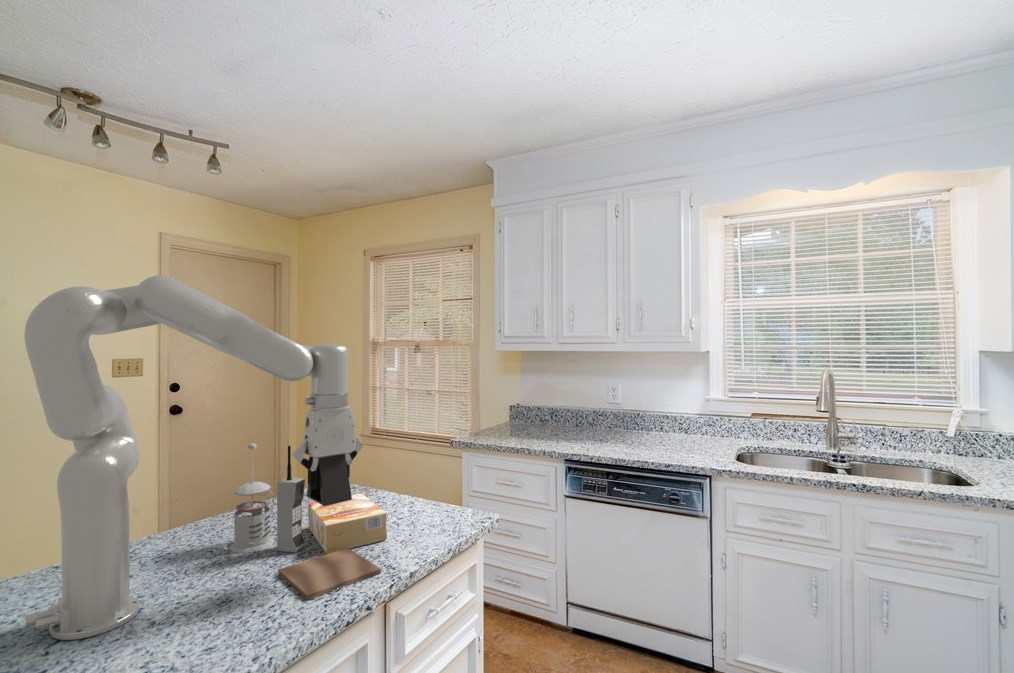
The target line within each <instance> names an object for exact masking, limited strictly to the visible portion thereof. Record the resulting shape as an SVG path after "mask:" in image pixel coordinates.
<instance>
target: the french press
mask: <svg viewBox="0 0 1014 673" xmlns="http://www.w3.org/2000/svg"><path fill="white" fill-rule="evenodd" d="M256 448H257V444H256V443H254V442H252V443H249V444H248V446H247V449H251V481H249V482H246V483H243V484H241V485H239V486H238V487H236V488H235V489H234V490H233V493H234V495H236V496H241V497H246V496H247V497H249V496H251V500H250V501H246V502H242V503H240V504H238V505H237V506H236V507H235V509H236V510H237V511H235V513H234V518H233V519H234V520H233V521H234V522H233V524H234V528H233V529H234V537H233V538H234V539H233V540H234V542H232V544H231V546H230V547H229V550H230V551H231V553H232V552H233V553H235V554H248V553H247V552H250V553H255V552H254V551H256V552H260V551H262V550H266V549H267V548H270V547H271V546H272V545H273V544H274V543H273V542H275V540H274V538H272V537H271V536H270V533H271V532H270V527H271V526H270V525H271V524H270V521H271V520H270V519H271V518H270V517H271V514H272V513H273V510H274V508H275V507H274V506H275V496H274V493H273V492H272V490H271V488H272V487H271V485H269V484H268V483H266V482H263V481H254V460H253V459H254V449H256ZM268 492H270V494H271V495H272V506H271V507H272V508H269V503H270V502H269V501H270V500H269V499H270V498H269V494H268ZM264 493H265V494H264ZM257 495H260V496H263V497H264V496H266V497H267V500H260V499H259V500H254V496H257ZM263 509H264V513H263ZM270 510H271V511H270ZM243 513H244V514H243ZM245 513H250V514H251V515H249V514H245ZM241 514H243V515H241ZM240 515H241V516H240ZM263 526H264V527H263ZM269 546H270V547H269Z"/></svg>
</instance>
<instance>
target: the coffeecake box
mask: <svg viewBox="0 0 1014 673" xmlns="http://www.w3.org/2000/svg"><path fill="white" fill-rule="evenodd" d="M351 495H352V500H348V501H344V502H340V503H336V504H332V505H327V506H323V505H321V504H319V503H318V502H316V501H314V502H309V503H308V504H307V512H308V517H307V518H308V529H309V531H310V532H311V533H312V535H313V536H314V538H315V539H316V541H317V542H318V543H319V545H320V546H321V548H322V549H323V551H324V552H325V553H326V555H327V554H330V553H333V552H336V551H339V550H342V549H346V548H349V549H353V548H357V547H361V546H365V545H369V544H373V543H377V542H381V541H385V540H387V539H388V534H387V532H388V531H387V530H388V529H387V512H385V511H384V510H383V509H382V508H380V506H378V505H377V504H376V503H375V502H374V501H372V500H371V499H370V498H368V497H367V496H366V495H365V494H364V493H359V494H358V493H357V494H351Z"/></svg>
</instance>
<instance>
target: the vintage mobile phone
mask: <svg viewBox="0 0 1014 673" xmlns="http://www.w3.org/2000/svg"><path fill="white" fill-rule="evenodd" d="M291 449H292V448H291V445H288V446H287V467H286V469H287V472H286V473H287V474H286V476H287V477H286V478H284V479H281V480H279V481H277V482H276V486H277V487H276V488H277V490H276V497H277V498H276V502H277V504H276V506H277V507H276V508H277V510H276V515H277V516H276V519H277V522H276V530H277V532H276V534H277V536H276V544H277V545H276V548H277V551H278V552H281V551H282V552H283V553H291V552H293V554H294V553H295V554H296V553H298V552H299V551H300V550H303V549H304V547H305V546H306V541H305V538H304V536H303V534H302V532H303V531H302V525H303V524H302V523H303V522H302V521H303V520H302V516H303V515H302V514H303V513H302V506H303V504H302V503H303V501H304V496H305V485H306V484H305V482H306V478H301V477H300V478H299V477H292V465H291V461H292V460H291V458H292V455H291V452H292V450H291ZM298 550H299V551H298Z"/></svg>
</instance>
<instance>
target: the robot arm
mask: <svg viewBox="0 0 1014 673" xmlns="http://www.w3.org/2000/svg"><path fill="white" fill-rule="evenodd" d="M161 324H162V325H163V326H167V327H169V328H170V329H173V330H175V331H177V332H179V333H182V334H184V335H186V336H188V337H190V338H192V339H194V340H196V341H198V342H200V343H201V344H202V343H203V344H205V345H206V346H208V347H210V348H213V349H215V350H217V351H219V352H221V353H224V354H227V355H229V356H232V357H234V358H236V359H239V360H241V361H242V362H245V363H246V364H249V365H251V366H254V367H256V368H258V369H259V370H261V371H262V372H263V371H264V372H266V373H268V374H270V375H272V376H274V377H277V378H279V379H281V380H283V381H286V382H299V381H301V380H303V379H305V378H306V377H310V378H311V380H310V381H311V382H310V394H309V397H306V398H304V404H305V405H308V406H309V407H310V408H308V409H307V413H306V418H305V422H304V427H303V428H304V430H303V440H302V442H301V444H300V445H299V446H298V447H297V448H296V449H295V451H294V452H292V455H291V458H293V459H294V460H296V461H297V462H298V463H299V464H300V465H302V466H303V467H304V468H305V469H306V470H307V485H309V486H310V488H312V489H314V490H318V489H319V471H318V470H317V465H318V463H319V458H323V457H329V456H335V455H341V454H345V457H346V463H347V470H348V476H349V478H350V477H351V476H350V468H351V467H350V465H351V464H352V463H353V460H355V458H356V456H357V455H358V453H359V452H360V451H361V449H362V448H363V447H364V444H363V443H362V441H360V440H359V439H358V438H357V436H356V426H355V425H356V423H355V417H354V412H353V408H352V406H348V405H349V402H348V401H349V351H348V348H347V347H346V346H345V345H343V344H318V345H317V344H316V345H309V344H307V345H306V344H299V343H298V342H295V341H293V340H291V339H290V338H287V337H285V336H283V335H281V334H279V333H277V332H275V331H273V330H272V329H269V328H267V327H265V326H264V325H262V324H259V323H258V322H256V321H255V320H252V318H249V317H248V316H247V315H246V314H244V313H242V312H240V311H238V309H237V310H236V309H235V308H233V307H231V306H229V305H226V304H225V303H223V302H221V301H219V300H217V299H215V298H212V297H211V296H209V295H207V294H205V293H203V292H201V291H199V290H197V289H195V288H194V287H191V286H189V285H187V284H185V283H183V282H181V281H180V280H178V279H175V278H173V277H170V276H167V275H160V274H159V275H153V276H149V277H147V278H145V279H144V280H142V281H141V282H140V283H138V285H132V286H128V287H127V286H126V287H125V286H124V287H119V288H113V289H107V290H101V289H99V288H95V287H90V286H72V287H67V288H63V289H60V290H58V291H55V292H53V293H52V294H50V295H48V296H46V297H45V298H44V299H42V300H41V301H40V302H39V303H38V304H37V305H36V306H35V307H34V308H33V309H32V311H31V312H30V314H29V316H28V318H27V320H26V322H25V327H24V332H23V334H24V336H23V337H24V345H25V349H26V352H27V356H28V360H29V363H30V366H31V369H32V373H33V377H34V380H35V384H36V388H37V392H38V396H39V399H40V401H41V405H42V408H43V412H44V415H45V420H46V423H47V424H46V425H47V426H48V428H49V430H50V431H51V433H52V434H53V435H55V436H56V437H58V438H60V439H61V440H65V441H70V442H72V443H73V444H72V445H73V448H74V450H75V452H74V453H73V454H72V455H70V456H69V457H68V458H67V459H66V460H65V461H64V463H63V464H62V466H61V468H60V469H59V472H58V475H57V480H56V490H57V491H56V492H57V496H58V497H57V498H58V504H59V511H60V512H59V513H60V536H61V537H60V538H61V540H60V541H61V598H59V599H57V604H55V605H53V606H50V608H49V609H47V610H46V609H45V610H44V611H43V610H42V611H37V612H34V613H30V614H27V615H26V614H25V628H30V627H33V626H35V630H39V629H41V628H45V627H46V628H47V626H49V635H50V636H51V637H52V638H54V639H56V640H60V641H61V640H62V641H63V640H64V641H70V640H71V641H73V640H81V639H85V638H90V637H95V636H98V635H101V634H104V633H107V632H109V631H111V630H115V629H116V628H118V627H121V626H123V625H124V624H126V623H128V622H129V621H131V620H132V619H133V618H134V617H135V616H136V615H137V614H138V613H139V611H140V609H141V601H140V600H139V599H138V598H136V597H133V596H131V595H130V504H129V494H128V480H129V478H130V477H131V476H132V475H133V474H134V472H135V471H136V469H137V468H138V465H139V462H140V461H139V460H140V452H139V446H138V444H137V439H136V436H135V433H134V428H133V426H132V422H131V419H130V416H129V412H128V409H127V406H126V403H125V401H124V398H123V397H122V395H121V394H120V393H119V392H118V391H117V390H116V389H114V388H113V387H111V386H109V385H107V384H103V382H102V379H101V376H100V373H99V369H98V368H99V367H98V364H97V361H96V358H95V356H94V354H93V351H92V349H91V347H90V337H91V336H92V335H95V336H101V335H109V334H114V333H120V332H124V331H126V332H127V331H130V330H134V329H135V330H136V329H141V328H146V327H150V326H151V327H152V326H156V325H161ZM304 454H305V455H307V456H308V458H306V457H305V456H304Z"/></svg>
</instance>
